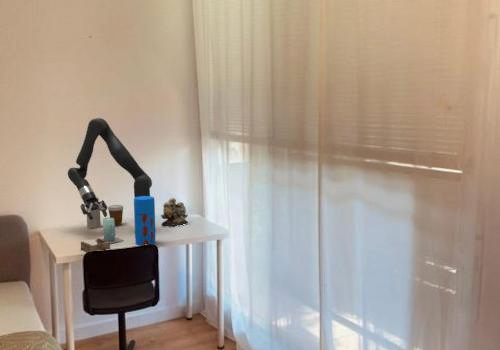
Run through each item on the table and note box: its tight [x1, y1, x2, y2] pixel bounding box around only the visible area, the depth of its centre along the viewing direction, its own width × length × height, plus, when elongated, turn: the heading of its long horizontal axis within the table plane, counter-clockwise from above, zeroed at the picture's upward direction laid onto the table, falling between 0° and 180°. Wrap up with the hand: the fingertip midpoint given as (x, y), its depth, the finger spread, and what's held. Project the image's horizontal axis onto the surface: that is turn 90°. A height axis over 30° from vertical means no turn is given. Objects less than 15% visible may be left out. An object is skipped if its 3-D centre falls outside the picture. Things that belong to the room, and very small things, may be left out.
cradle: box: [80, 237, 111, 253], centre depth 250 cm, size 10×11×4 cm
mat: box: [95, 236, 125, 245], centre depth 265 cm, size 11×11×1 cm
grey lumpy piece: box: [160, 197, 189, 227], centre depth 302 cm, size 18×12×17 cm, turn 127°
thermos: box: [133, 195, 157, 246], centre depth 260 cm, size 11×11×25 cm
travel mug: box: [85, 196, 102, 229], centre depth 296 cm, size 8×8×18 cm
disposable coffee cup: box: [107, 204, 124, 227], centre depth 301 cm, size 10×10×12 cm
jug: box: [102, 217, 116, 242], centre depth 264 cm, size 6×8×12 cm
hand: (99, 217), depth 272 cm, fingers open, 8 cm apart
